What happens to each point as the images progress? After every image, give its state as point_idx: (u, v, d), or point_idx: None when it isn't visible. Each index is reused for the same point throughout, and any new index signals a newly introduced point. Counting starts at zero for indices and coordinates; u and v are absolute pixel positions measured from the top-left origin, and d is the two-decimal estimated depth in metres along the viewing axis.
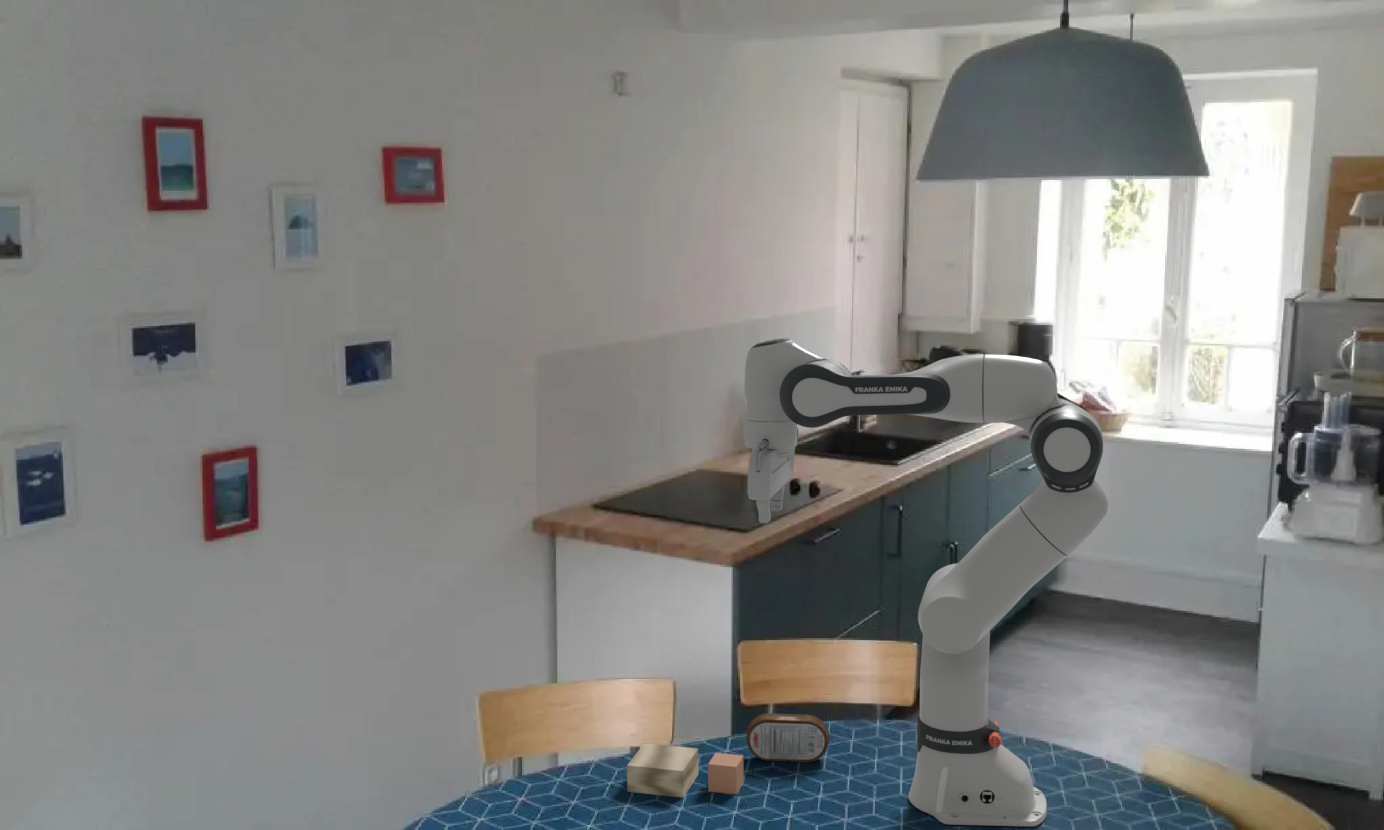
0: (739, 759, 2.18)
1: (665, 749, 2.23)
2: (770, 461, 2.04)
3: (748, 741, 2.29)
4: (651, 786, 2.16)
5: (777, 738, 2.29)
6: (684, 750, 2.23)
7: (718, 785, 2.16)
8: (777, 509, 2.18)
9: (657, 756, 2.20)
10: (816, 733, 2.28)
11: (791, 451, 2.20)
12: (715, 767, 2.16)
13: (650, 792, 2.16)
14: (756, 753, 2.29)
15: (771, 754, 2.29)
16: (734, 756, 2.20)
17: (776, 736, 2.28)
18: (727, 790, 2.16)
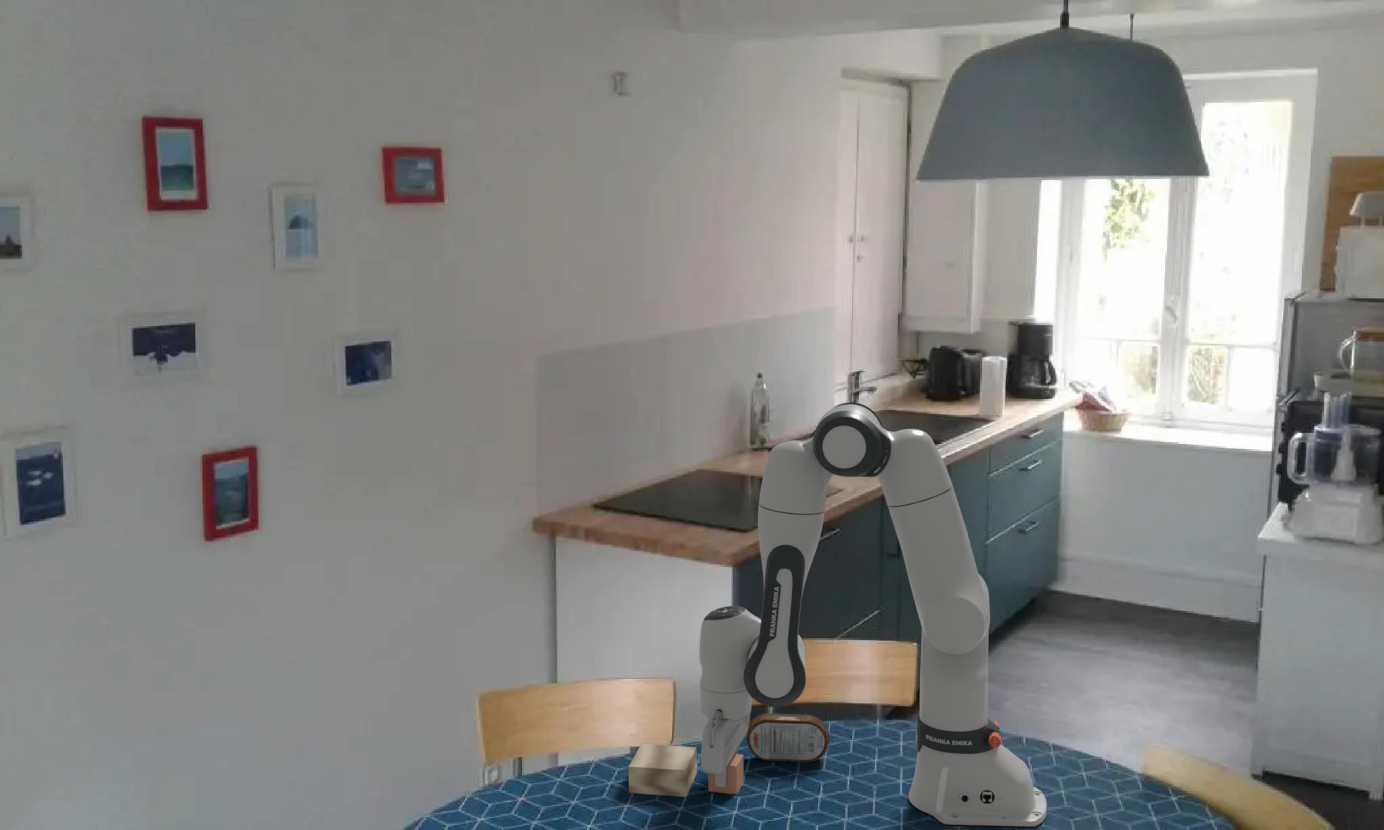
0: (739, 758, 2.18)
1: (664, 749, 2.23)
2: (723, 736, 2.09)
3: (748, 741, 2.29)
4: (654, 787, 2.16)
5: (777, 738, 2.29)
6: (683, 749, 2.23)
7: None
8: None
9: (657, 756, 2.20)
10: (816, 733, 2.28)
11: None
12: None
13: (652, 792, 2.16)
14: (756, 753, 2.29)
15: (771, 754, 2.29)
16: (734, 755, 2.20)
17: (776, 736, 2.28)
18: (727, 790, 2.16)
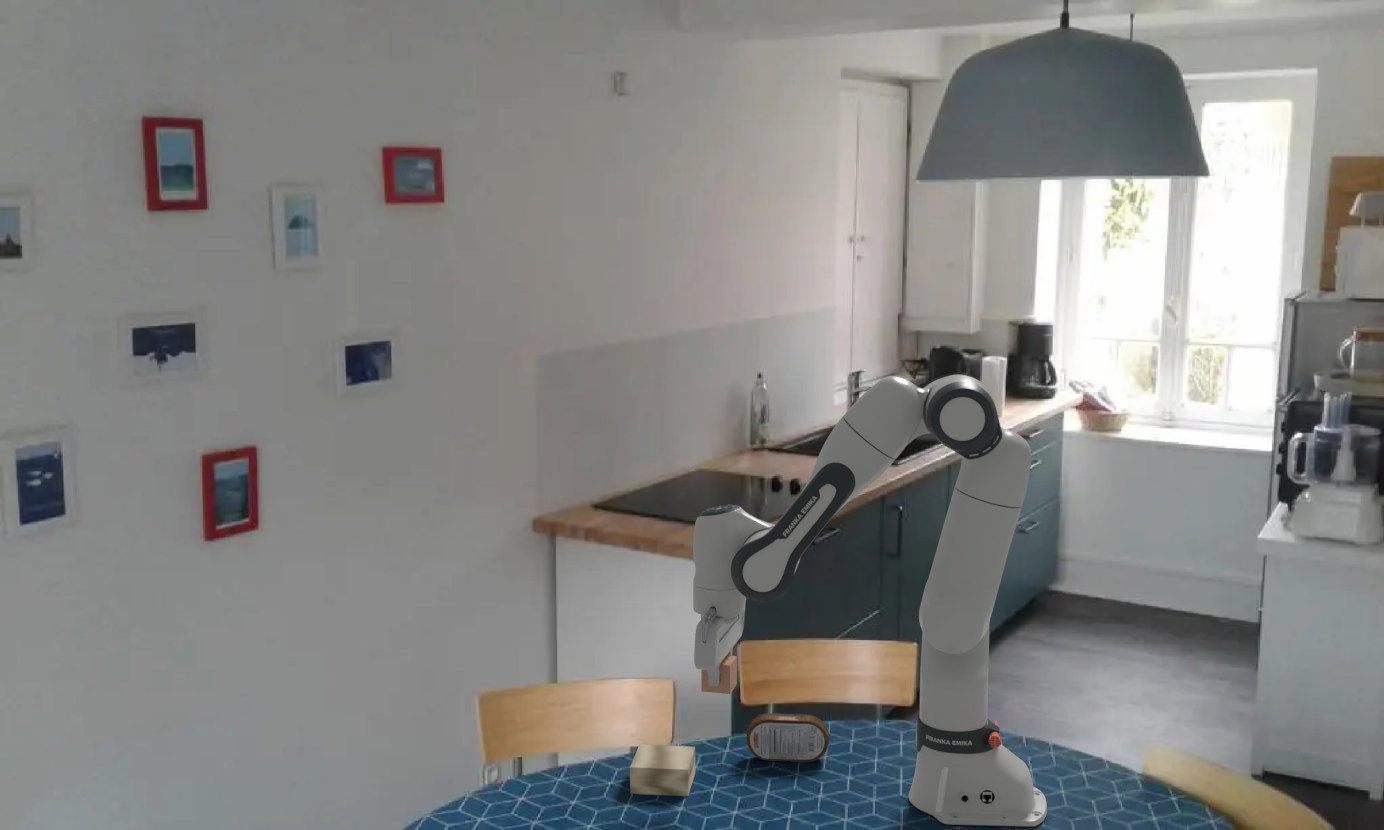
0: (733, 659, 2.16)
1: (663, 749, 2.23)
2: (716, 632, 2.06)
3: (748, 741, 2.29)
4: (655, 787, 2.16)
5: (777, 738, 2.29)
6: (682, 749, 2.23)
7: None
8: None
9: (657, 756, 2.20)
10: (816, 733, 2.28)
11: None
12: None
13: (654, 793, 2.16)
14: (756, 753, 2.29)
15: (771, 754, 2.29)
16: (727, 656, 2.17)
17: (776, 736, 2.28)
18: (720, 690, 2.14)
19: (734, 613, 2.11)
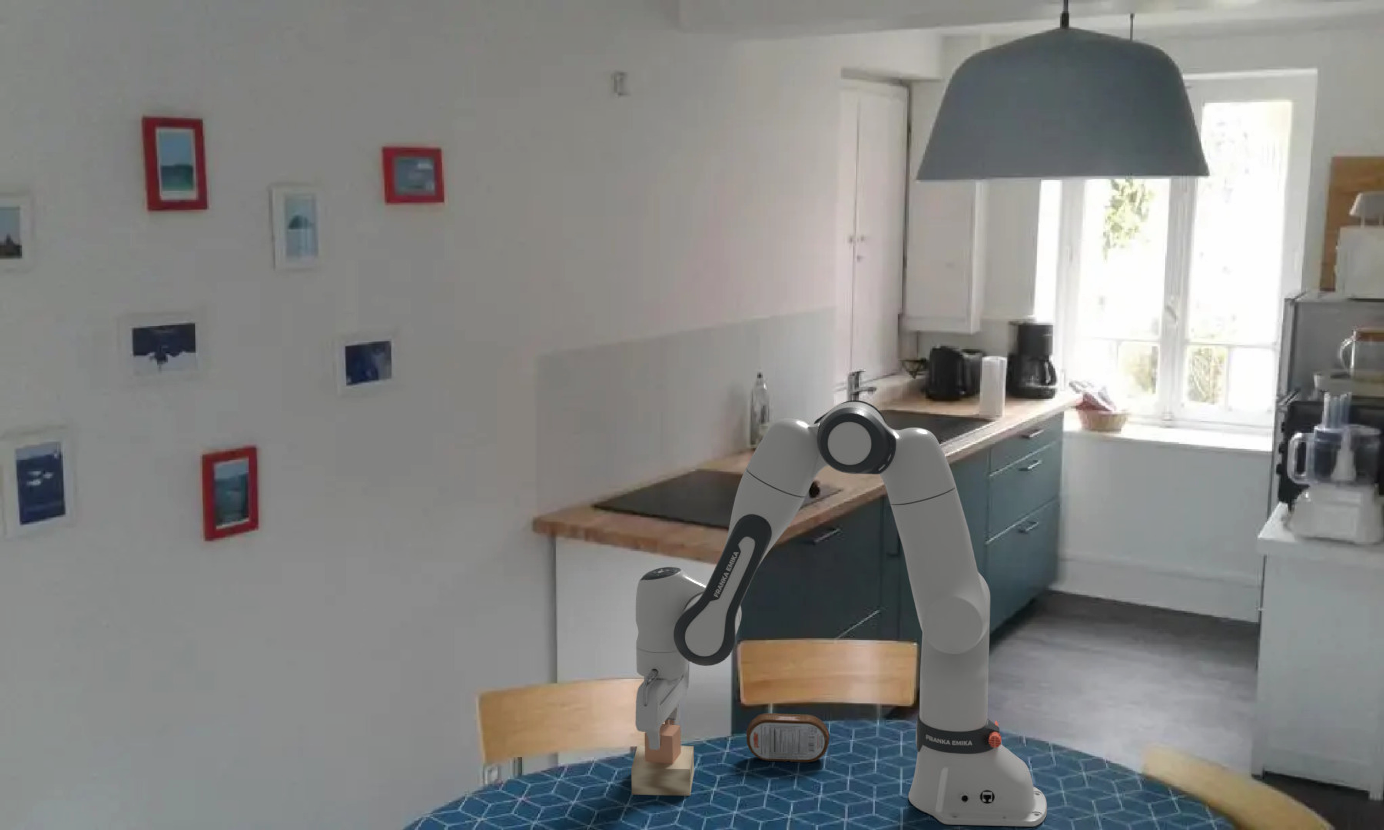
0: (676, 729, 2.19)
1: None
2: (657, 695, 2.10)
3: (748, 741, 2.29)
4: (657, 787, 2.16)
5: (777, 737, 2.29)
6: (681, 748, 2.24)
7: (654, 754, 2.18)
8: None
9: None
10: (816, 733, 2.28)
11: None
12: None
13: (656, 793, 2.16)
14: (756, 753, 2.29)
15: (771, 754, 2.29)
16: (671, 726, 2.21)
17: (776, 735, 2.28)
18: (663, 760, 2.17)
19: (676, 675, 2.14)
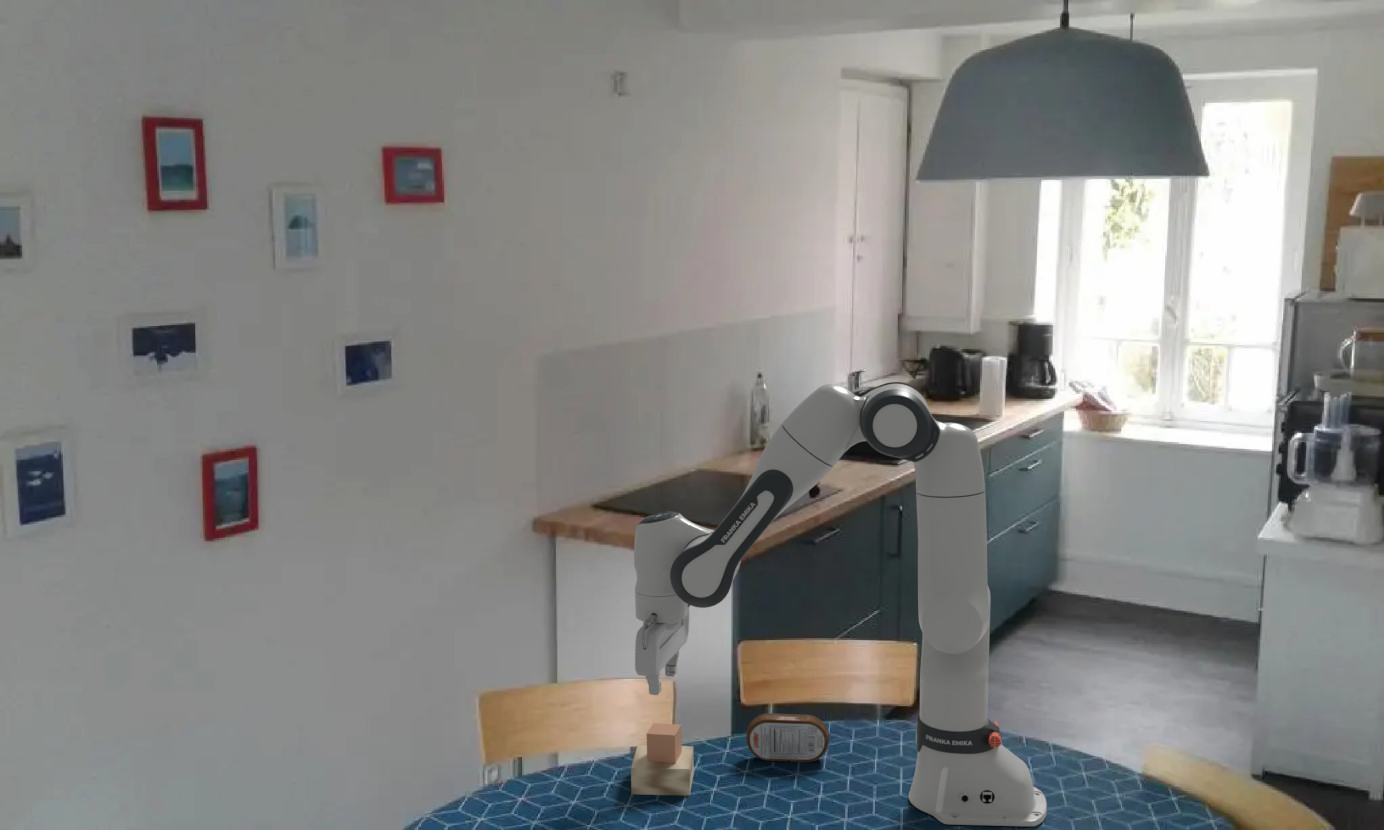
0: (677, 728, 2.20)
1: None
2: (656, 638, 2.08)
3: (748, 741, 2.29)
4: (657, 787, 2.16)
5: (777, 738, 2.29)
6: None
7: (657, 754, 2.18)
8: (671, 674, 2.22)
9: None
10: (816, 733, 2.28)
11: None
12: (653, 736, 2.17)
13: (655, 793, 2.16)
14: (756, 753, 2.29)
15: (771, 754, 2.29)
16: (672, 725, 2.21)
17: (776, 736, 2.28)
18: (666, 759, 2.18)
19: (675, 619, 2.13)
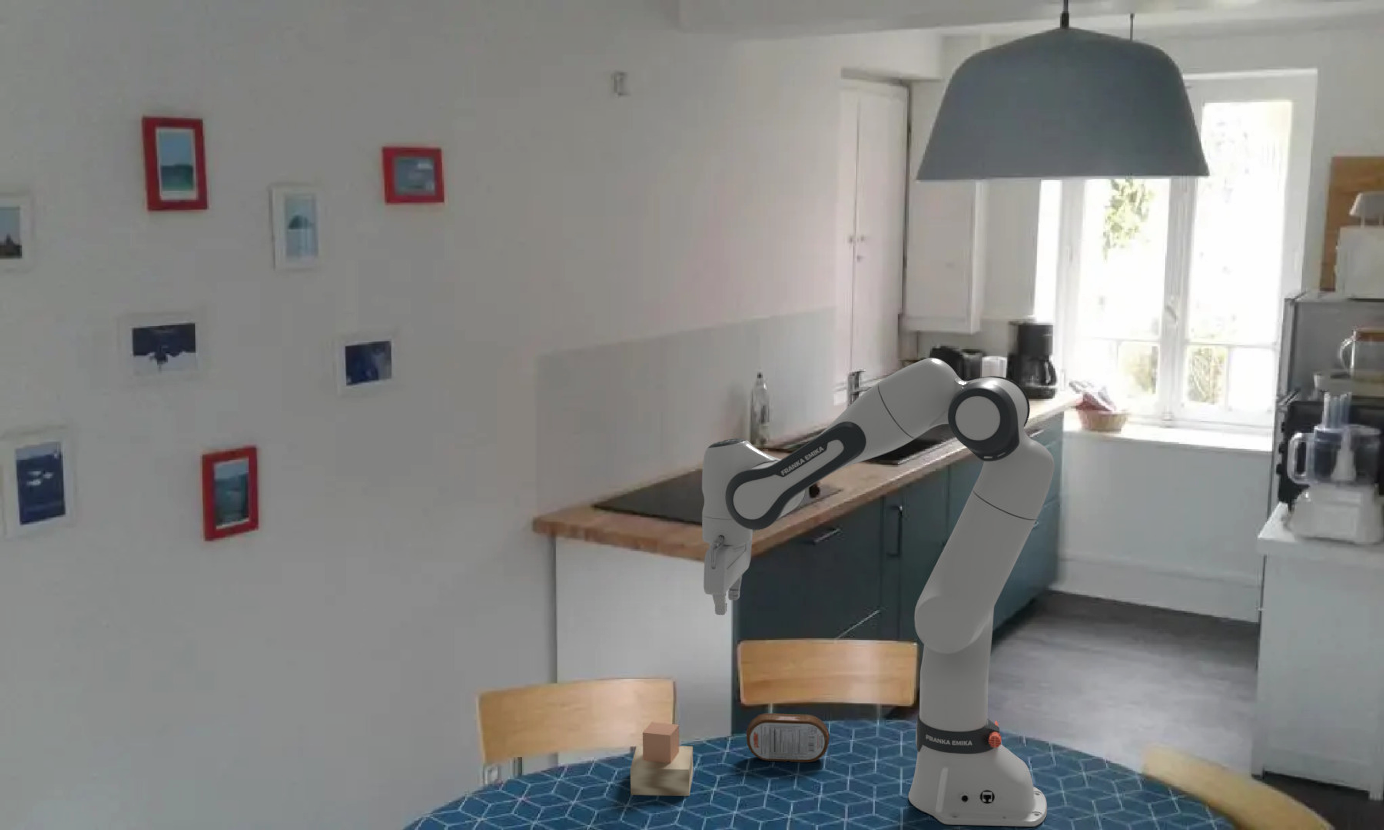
0: (674, 728, 2.20)
1: None
2: (725, 558, 2.15)
3: (748, 741, 2.29)
4: (656, 787, 2.16)
5: (777, 737, 2.29)
6: (680, 749, 2.23)
7: (652, 753, 2.18)
8: (734, 598, 2.29)
9: None
10: (816, 733, 2.28)
11: (748, 542, 2.30)
12: (649, 735, 2.18)
13: (655, 793, 2.16)
14: (756, 753, 2.29)
15: (771, 754, 2.29)
16: (669, 725, 2.21)
17: (776, 736, 2.28)
18: (661, 759, 2.18)
19: (742, 542, 2.20)
